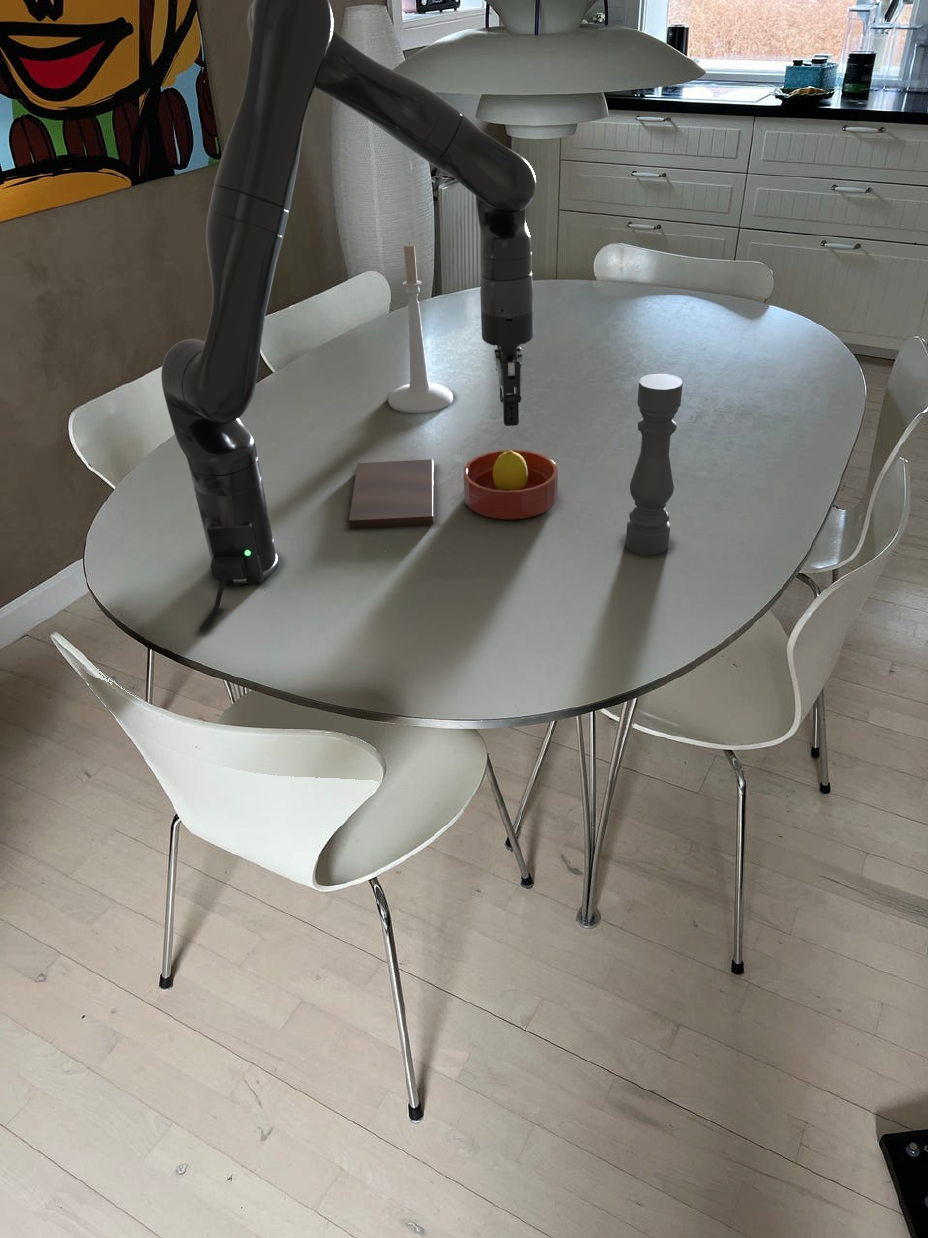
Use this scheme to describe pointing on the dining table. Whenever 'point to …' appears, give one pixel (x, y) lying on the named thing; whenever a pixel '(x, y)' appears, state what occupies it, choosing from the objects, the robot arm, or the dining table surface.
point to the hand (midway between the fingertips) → (509, 413)
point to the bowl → (517, 502)
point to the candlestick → (417, 355)
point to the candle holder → (653, 464)
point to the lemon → (510, 472)
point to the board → (392, 494)
